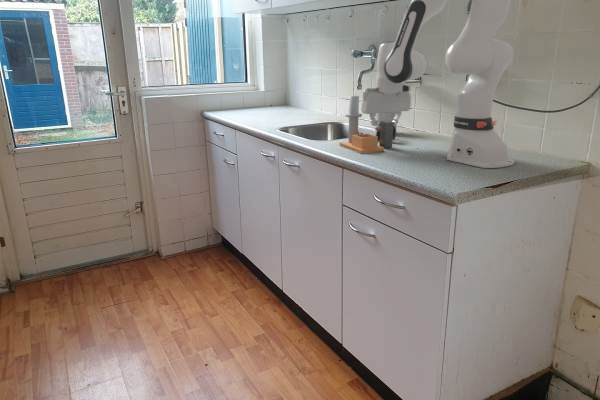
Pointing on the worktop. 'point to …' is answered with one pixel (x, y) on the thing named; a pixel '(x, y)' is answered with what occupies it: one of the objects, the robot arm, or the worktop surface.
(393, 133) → the pottery mug
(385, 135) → the grey upright block
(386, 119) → the supplement tub
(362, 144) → the wooden stepped base
